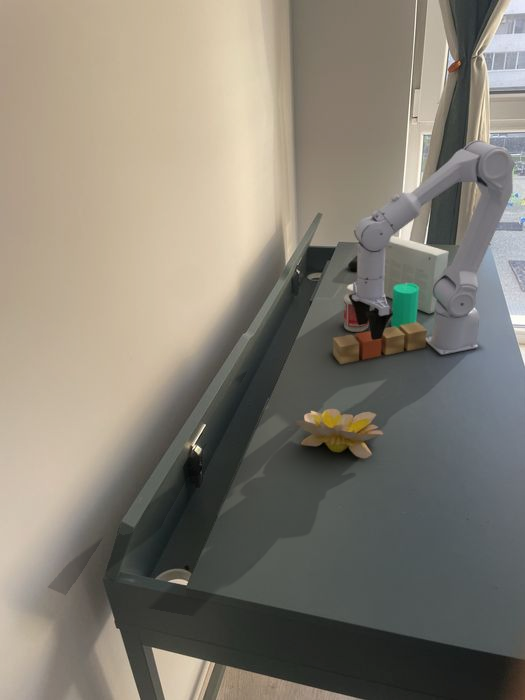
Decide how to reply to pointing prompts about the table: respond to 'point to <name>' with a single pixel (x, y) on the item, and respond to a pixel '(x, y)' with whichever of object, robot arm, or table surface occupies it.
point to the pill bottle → (351, 314)
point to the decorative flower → (340, 431)
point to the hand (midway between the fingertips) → (369, 331)
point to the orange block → (368, 345)
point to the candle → (404, 304)
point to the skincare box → (414, 269)
